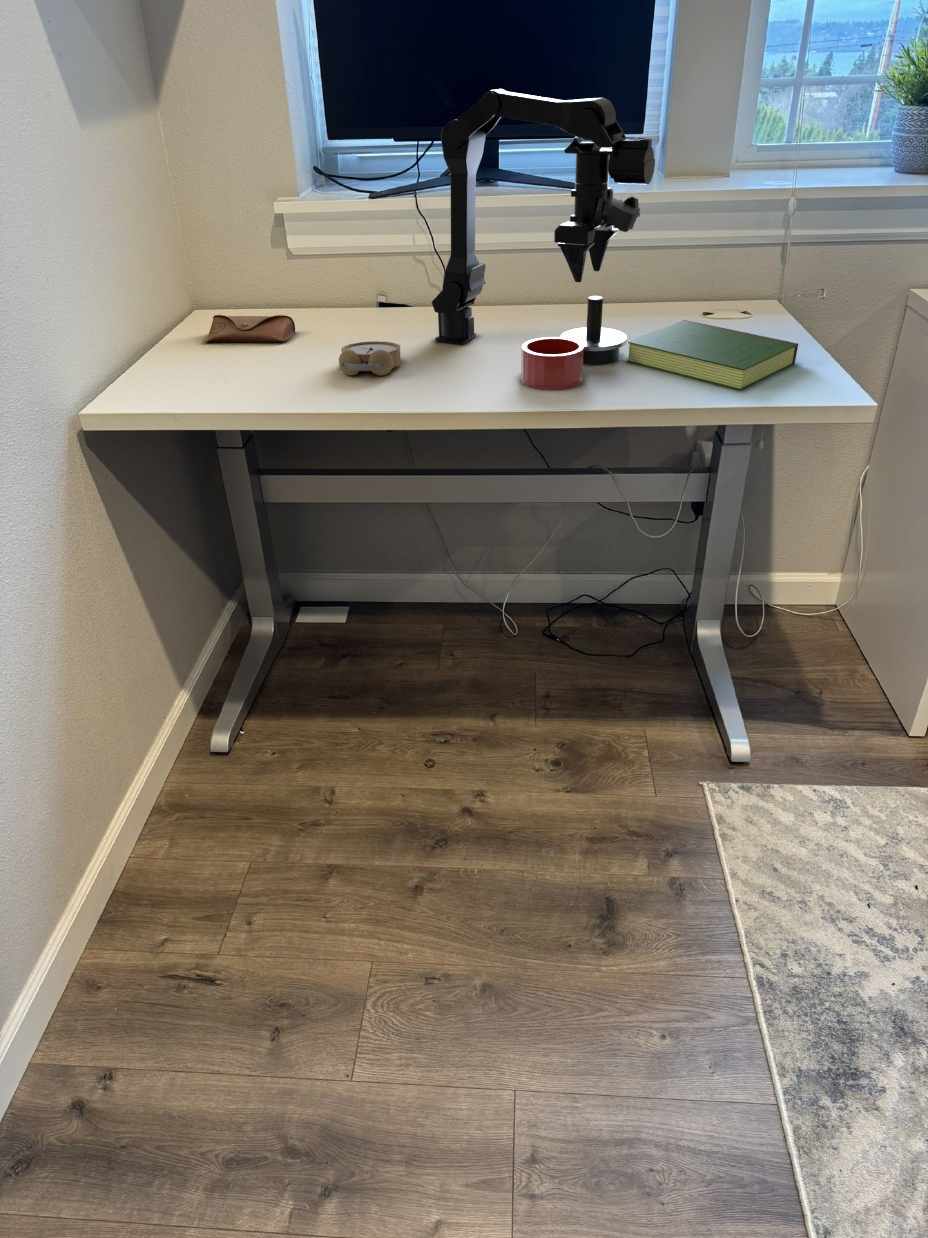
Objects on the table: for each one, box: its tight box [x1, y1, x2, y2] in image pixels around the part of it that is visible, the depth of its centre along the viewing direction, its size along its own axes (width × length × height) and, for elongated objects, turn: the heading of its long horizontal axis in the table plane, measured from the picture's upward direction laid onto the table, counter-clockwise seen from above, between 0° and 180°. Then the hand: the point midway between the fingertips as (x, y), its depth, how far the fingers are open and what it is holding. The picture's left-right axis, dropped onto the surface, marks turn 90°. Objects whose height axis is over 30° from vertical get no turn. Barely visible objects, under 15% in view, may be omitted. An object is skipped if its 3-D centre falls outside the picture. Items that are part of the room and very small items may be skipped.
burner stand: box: [583, 347, 620, 366], centre depth 167 cm, size 10×10×3 cm
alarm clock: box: [338, 340, 402, 376], centre depth 165 cm, size 11×5×15 cm
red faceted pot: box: [520, 336, 584, 391], centre depth 156 cm, size 11×11×6 cm
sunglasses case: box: [204, 314, 296, 344], centre depth 185 cm, size 18×7×7 cm
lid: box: [559, 295, 628, 351], centre depth 164 cm, size 13×13×8 cm
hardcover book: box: [626, 319, 799, 392], centre depth 162 cm, size 25×19×4 cm
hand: (587, 276), depth 161 cm, fingers open, 9 cm apart
